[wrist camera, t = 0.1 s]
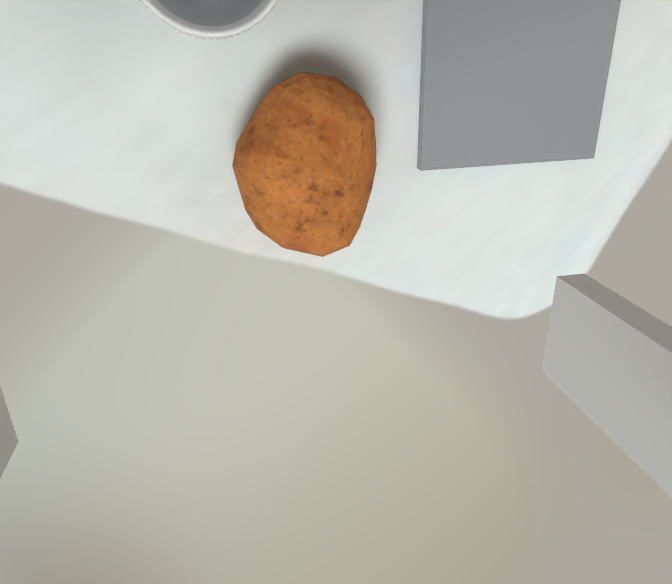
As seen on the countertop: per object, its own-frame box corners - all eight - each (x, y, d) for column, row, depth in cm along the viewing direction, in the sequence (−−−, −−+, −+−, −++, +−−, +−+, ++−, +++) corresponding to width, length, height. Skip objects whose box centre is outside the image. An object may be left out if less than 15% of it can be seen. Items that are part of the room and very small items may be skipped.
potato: (213, 213, 38) (213, 248, 32) (257, 50, 35) (267, 50, 28) (334, 245, 41) (357, 284, 35) (386, 97, 38) (423, 108, 31)
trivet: (425, -54, 34) (429, -57, 34) (621, -54, 37) (630, -55, 36) (417, 168, 40) (421, 170, 39) (587, 156, 43) (593, 158, 42)
